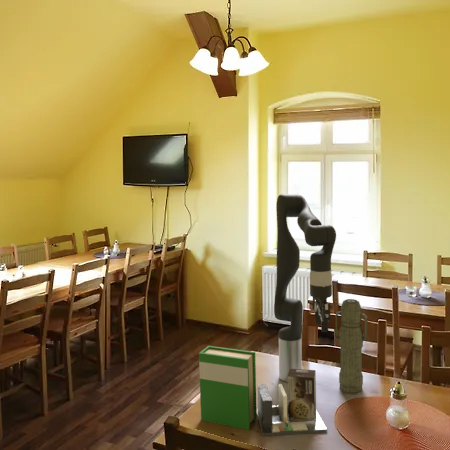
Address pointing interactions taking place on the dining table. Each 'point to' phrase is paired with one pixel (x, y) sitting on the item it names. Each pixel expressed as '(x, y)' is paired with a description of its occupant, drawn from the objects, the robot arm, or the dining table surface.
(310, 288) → the robot arm
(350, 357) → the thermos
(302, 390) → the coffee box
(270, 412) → the gauge frame
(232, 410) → the hardback book
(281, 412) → the paddle
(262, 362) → the dining table surface
